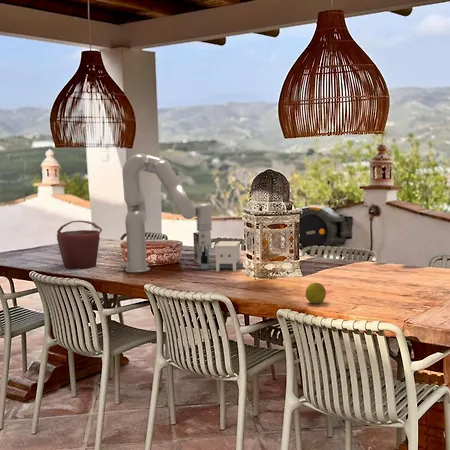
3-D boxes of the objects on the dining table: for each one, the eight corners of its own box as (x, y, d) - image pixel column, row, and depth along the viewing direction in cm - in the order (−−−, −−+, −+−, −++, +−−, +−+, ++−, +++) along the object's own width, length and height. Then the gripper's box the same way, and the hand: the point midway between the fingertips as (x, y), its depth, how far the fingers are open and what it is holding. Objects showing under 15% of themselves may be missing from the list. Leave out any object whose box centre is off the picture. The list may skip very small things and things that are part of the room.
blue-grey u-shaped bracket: (200, 269, 333) (199, 247, 331) (202, 267, 336) (201, 246, 335) (243, 267, 329) (242, 246, 328) (244, 266, 333) (243, 245, 332)
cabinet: (214, 271, 324) (214, 246, 323) (220, 265, 342) (219, 241, 340) (236, 271, 323) (236, 246, 321) (240, 265, 340) (240, 241, 339)
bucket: (111, 264, 354) (109, 219, 352) (86, 271, 335) (84, 223, 332) (75, 262, 365) (72, 218, 362) (48, 269, 345) (46, 222, 342)
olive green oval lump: (320, 307, 245) (320, 286, 244) (301, 305, 249) (301, 284, 248) (330, 301, 255) (330, 281, 254) (311, 299, 258) (311, 279, 258)
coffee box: (193, 261, 357) (192, 232, 355) (205, 260, 359) (204, 231, 357) (198, 264, 348) (197, 234, 347) (209, 263, 350) (208, 233, 349)
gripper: (208, 229, 323) (209, 265, 325) (214, 225, 340) (215, 260, 342) (194, 229, 324) (195, 265, 326) (200, 225, 341) (201, 260, 343)
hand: (205, 262), depth 334 cm, fingers closed on blue-grey u-shaped bracket, 4 cm apart
